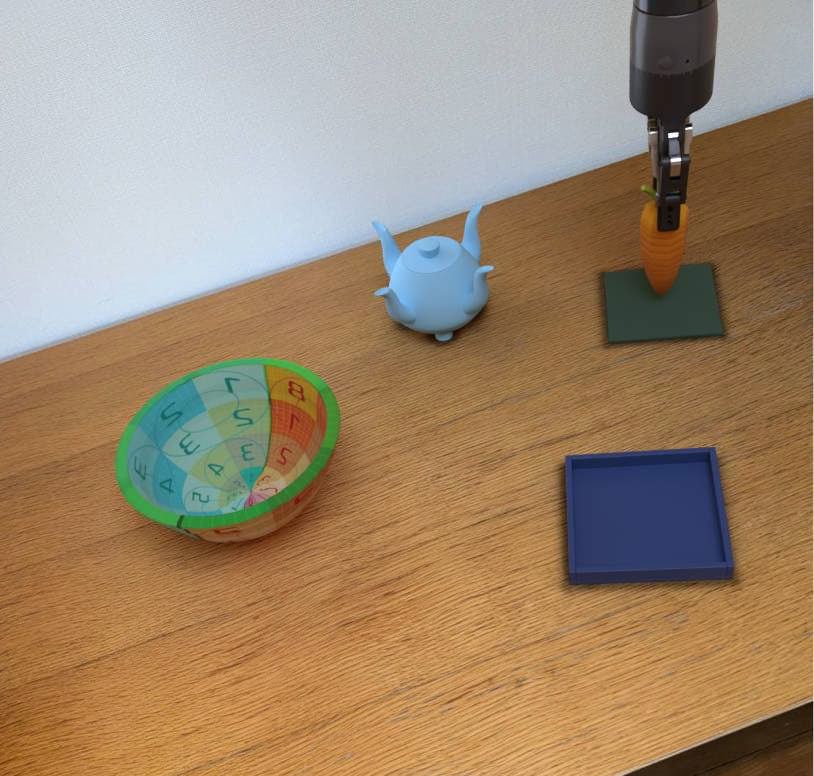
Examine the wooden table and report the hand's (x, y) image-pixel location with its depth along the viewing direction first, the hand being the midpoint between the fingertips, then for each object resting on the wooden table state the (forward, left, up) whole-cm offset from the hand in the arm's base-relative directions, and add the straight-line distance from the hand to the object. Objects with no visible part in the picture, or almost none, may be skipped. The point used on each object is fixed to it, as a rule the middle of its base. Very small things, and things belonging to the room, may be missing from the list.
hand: (665, 212), depth 102 cm
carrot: (0, 0, -11) cm, 11 cm away
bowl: (+43, +26, -12) cm, 52 cm away
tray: (+4, +31, -12) cm, 33 cm away
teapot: (+25, -1, -12) cm, 28 cm away
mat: (0, 0, -12) cm, 12 cm away
